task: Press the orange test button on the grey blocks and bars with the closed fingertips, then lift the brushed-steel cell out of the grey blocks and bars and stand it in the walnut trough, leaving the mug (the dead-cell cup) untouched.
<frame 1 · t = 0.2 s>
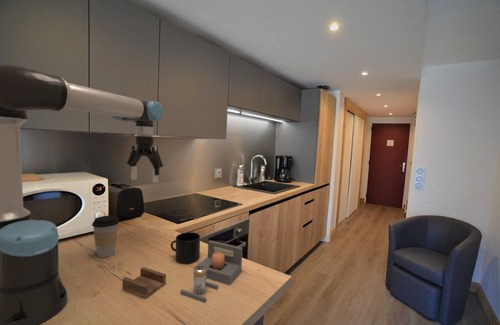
hand: (144, 180, 110), 28 cm above the countertop, fingers open, 13 cm apart
test button: (218, 260, 83), point 5 cm above the countertop, slide at 0.0 cm
trough: (144, 286, 74), on the countertop
grey blocks and bars: (210, 280, 79), on the countertop
coffee cup: (106, 254, 95), on the countertop
cell: (199, 290, 73), on the countertop
mug: (184, 258, 94), on the countertop
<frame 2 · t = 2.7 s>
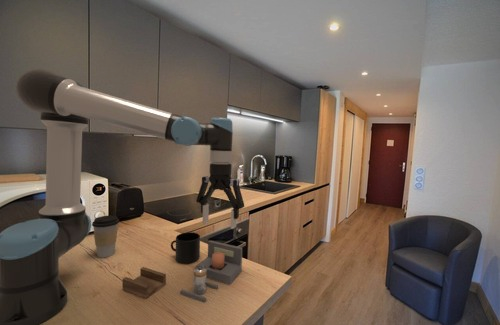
hand: (219, 224, 82), 18 cm above the countertop, fingers open, 11 cm apart
nothing on the countertop moved.
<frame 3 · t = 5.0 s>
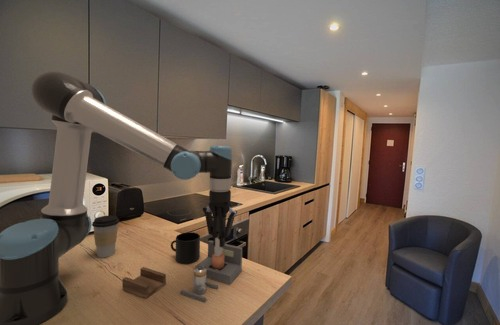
hand: (218, 254, 83), 7 cm above the countertop, fingers closed
test button: (218, 260, 83), point 5 cm above the countertop, slide at 0.2 cm, touching gripper
everything else where it was.
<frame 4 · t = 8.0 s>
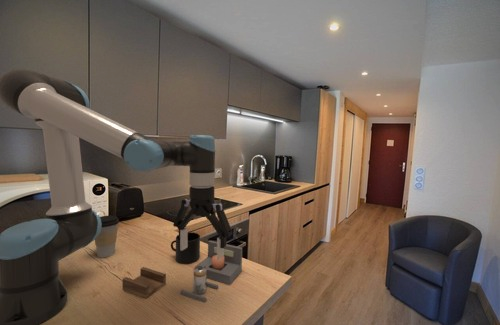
hand: (201, 253, 72), 12 cm above the countertop, fingers open, 13 cm apart
test button: (218, 262, 83), point 4 cm above the countertop, slide at 1.0 cm
everything else where it was.
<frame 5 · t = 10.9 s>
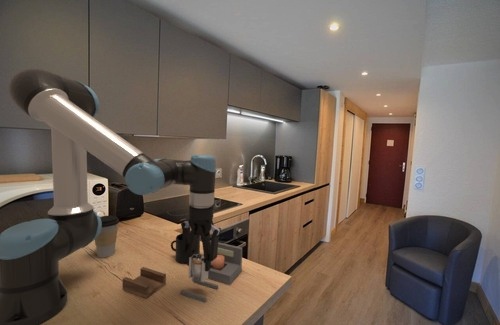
hand: (198, 277, 73), 4 cm above the countertop, fingers closed on cell, 4 cm apart
cell: (198, 278, 73), point 4 cm above the countertop, touching gripper
everything else where it was.
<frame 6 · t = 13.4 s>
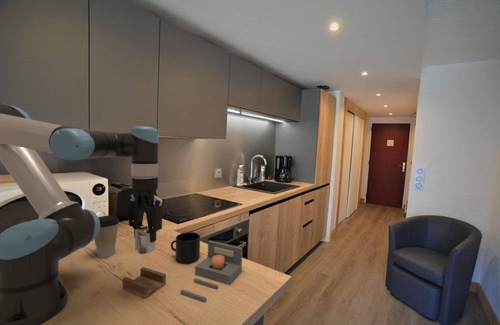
hand: (145, 249, 73), 12 cm above the countertop, fingers closed on cell, 4 cm apart
cell: (144, 250, 73), point 12 cm above the countertop, touching gripper
everything else where it was.
when the fingers open (1 cm above the countertop, at t = 15.9 s): cell stays where it is, resting on trough.
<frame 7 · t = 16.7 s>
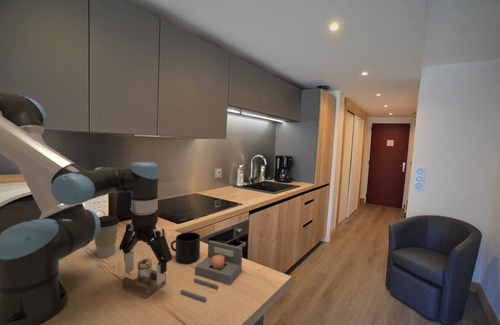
hand: (144, 276, 74), 3 cm above the countertop, fingers open, 13 cm apart
cell: (144, 283, 74), point 1 cm above the countertop, touching trough
everything else where it was.
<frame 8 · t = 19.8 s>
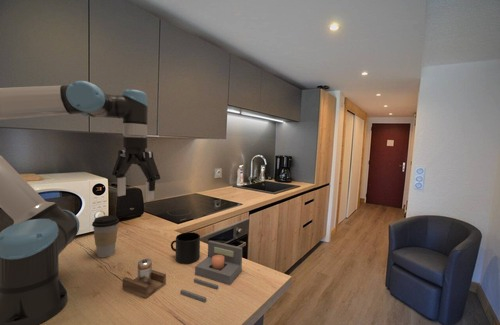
hand: (135, 198, 81), 27 cm above the countertop, fingers open, 13 cm apart
nothing on the countertop moved.
at the end: cell inside the target area on the trough (0.0 cm from its centre), point 1.0 cm above the trough's base; cell tilted 0°; the gripper is holding nothing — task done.
